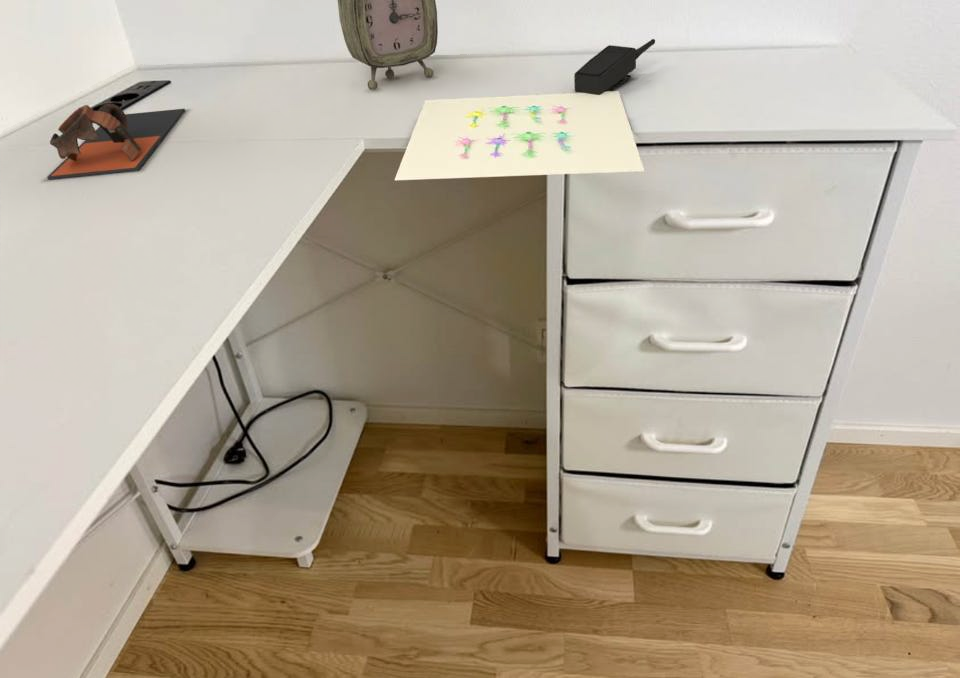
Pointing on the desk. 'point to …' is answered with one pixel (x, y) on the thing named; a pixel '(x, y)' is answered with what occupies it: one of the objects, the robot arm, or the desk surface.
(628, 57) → the walkie-talkie
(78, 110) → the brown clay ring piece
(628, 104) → the desk surface
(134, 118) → the desk mat
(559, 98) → the printed paper
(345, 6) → the tabletop clock
